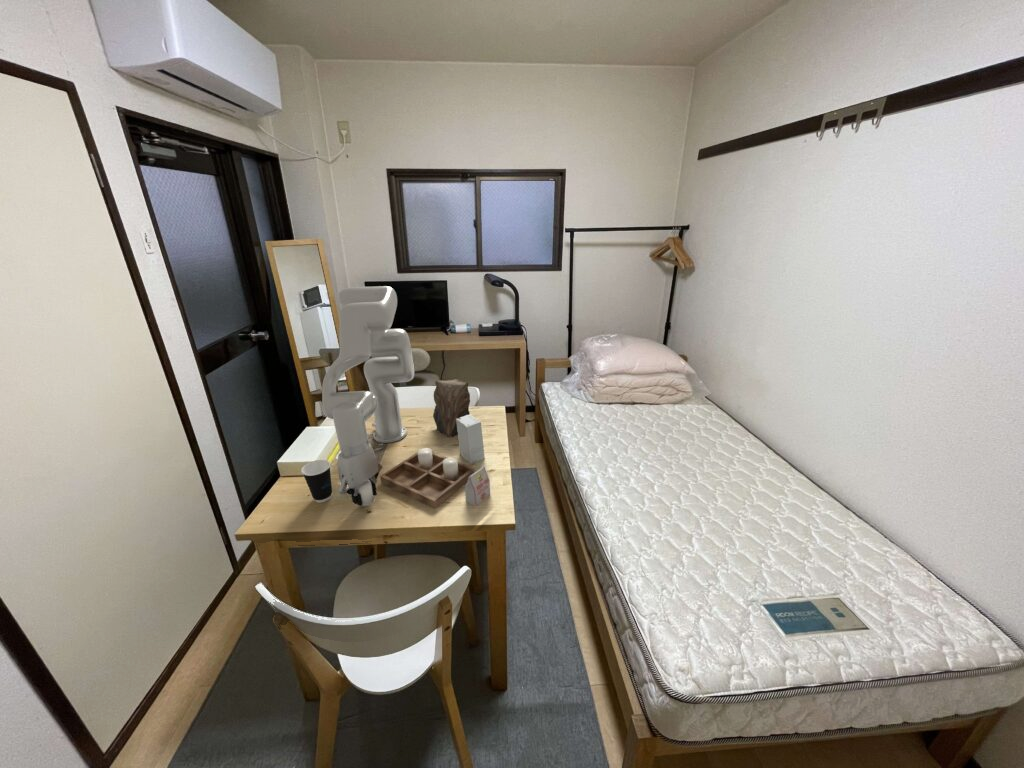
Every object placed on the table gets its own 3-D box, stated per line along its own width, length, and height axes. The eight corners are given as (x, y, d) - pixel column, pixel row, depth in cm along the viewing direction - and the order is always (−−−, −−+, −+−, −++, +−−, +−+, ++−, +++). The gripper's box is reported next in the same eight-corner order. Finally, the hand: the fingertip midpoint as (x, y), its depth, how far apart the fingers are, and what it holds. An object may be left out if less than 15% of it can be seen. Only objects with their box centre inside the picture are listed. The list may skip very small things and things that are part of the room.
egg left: (416, 468, 136) (414, 453, 133) (426, 461, 139) (424, 446, 137) (426, 472, 133) (424, 457, 131) (436, 465, 137) (434, 450, 135)
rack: (381, 485, 129) (380, 475, 128) (424, 457, 144) (423, 448, 142) (435, 510, 117) (434, 501, 116) (476, 477, 132) (475, 468, 130)
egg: (354, 502, 119) (350, 485, 116) (367, 493, 122) (363, 477, 120) (364, 508, 116) (361, 491, 114) (377, 498, 120) (374, 482, 117)
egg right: (441, 478, 130) (439, 462, 128) (450, 471, 134) (449, 456, 131) (452, 483, 128) (450, 467, 125) (461, 475, 131) (460, 460, 129)
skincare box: (485, 460, 141) (483, 422, 135) (469, 465, 138) (466, 427, 132) (473, 449, 147) (471, 412, 142) (458, 454, 144) (455, 417, 139)
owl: (433, 427, 164) (428, 381, 156) (460, 418, 171) (457, 373, 163) (447, 439, 154) (442, 391, 147) (476, 430, 161) (473, 383, 153)
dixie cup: (311, 491, 127) (304, 461, 122) (338, 487, 128) (332, 457, 124) (306, 508, 119) (298, 476, 115) (335, 503, 121) (328, 472, 117)
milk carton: (466, 503, 120) (463, 475, 116) (481, 491, 125) (479, 464, 121) (475, 508, 118) (473, 479, 114) (490, 496, 123) (489, 468, 119)
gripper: (370, 428, 120) (379, 479, 127) (318, 456, 107) (332, 511, 115) (387, 435, 116) (396, 487, 124) (336, 465, 103) (349, 521, 111)
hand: (365, 498), depth 119 cm, fingers closed on egg, 4 cm apart
